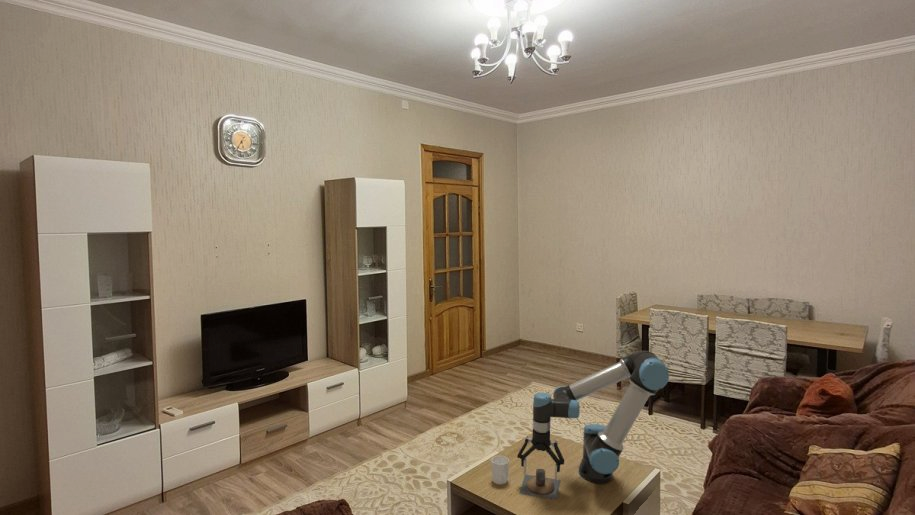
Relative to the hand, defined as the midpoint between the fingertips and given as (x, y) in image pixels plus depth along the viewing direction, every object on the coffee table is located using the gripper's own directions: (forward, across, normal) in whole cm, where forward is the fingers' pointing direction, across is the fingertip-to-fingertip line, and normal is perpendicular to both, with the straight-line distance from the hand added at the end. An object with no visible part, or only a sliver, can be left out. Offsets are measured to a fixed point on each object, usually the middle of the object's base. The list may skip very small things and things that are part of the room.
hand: (540, 475), depth 215 cm
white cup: (+6, +18, 0) cm, 19 cm away
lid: (+5, 0, 0) cm, 5 cm away
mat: (+5, 0, 0) cm, 5 cm away
